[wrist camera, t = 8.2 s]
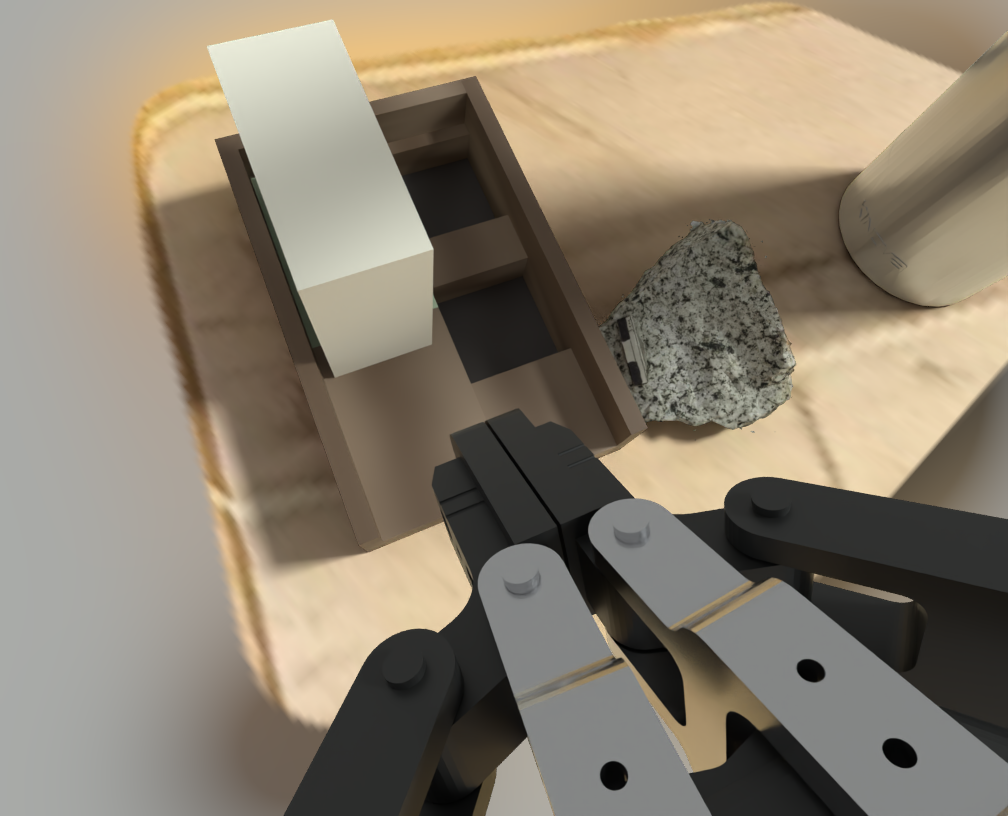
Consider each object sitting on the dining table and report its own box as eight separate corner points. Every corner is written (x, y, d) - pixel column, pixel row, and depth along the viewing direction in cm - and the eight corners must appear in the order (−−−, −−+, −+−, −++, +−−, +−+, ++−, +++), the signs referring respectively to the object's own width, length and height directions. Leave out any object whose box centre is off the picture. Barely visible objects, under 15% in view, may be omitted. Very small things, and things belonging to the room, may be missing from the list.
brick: (357, 165, 30) (333, 19, 22) (432, 344, 28) (433, 249, 20) (265, 190, 29) (206, 46, 21) (334, 377, 27) (297, 291, 19)
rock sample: (538, 290, 27) (743, 213, 23) (588, 259, 33) (755, 195, 29) (618, 493, 29) (818, 460, 25) (650, 428, 36) (814, 392, 31)
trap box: (470, 134, 34) (475, 76, 30) (619, 449, 29) (648, 428, 25) (240, 195, 31) (214, 139, 27) (368, 552, 27) (358, 545, 23)
